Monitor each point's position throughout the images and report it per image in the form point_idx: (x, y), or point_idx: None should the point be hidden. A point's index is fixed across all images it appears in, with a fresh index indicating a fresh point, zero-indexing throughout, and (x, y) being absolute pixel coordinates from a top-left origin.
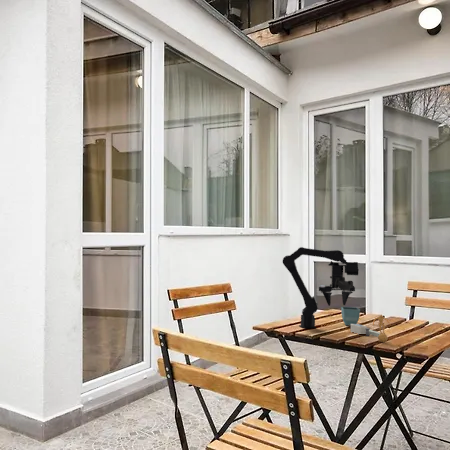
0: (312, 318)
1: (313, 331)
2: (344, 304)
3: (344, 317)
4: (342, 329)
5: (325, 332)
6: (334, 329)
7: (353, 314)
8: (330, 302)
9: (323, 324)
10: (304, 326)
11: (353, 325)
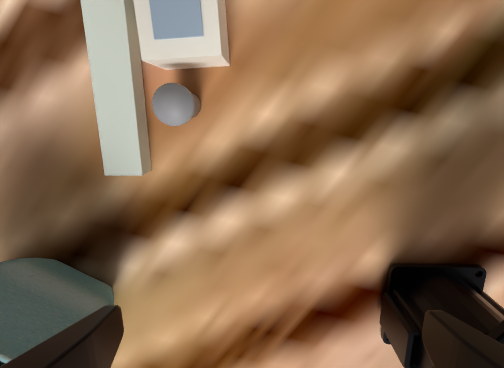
0: (459, 318)
1: (499, 166)
2: (114, 311)
3: None
4: (227, 174)
5: (438, 108)
6: (288, 190)
7: (8, 303)
8: (471, 344)
9: (249, 352)
10: (480, 290)
11: (218, 10)
